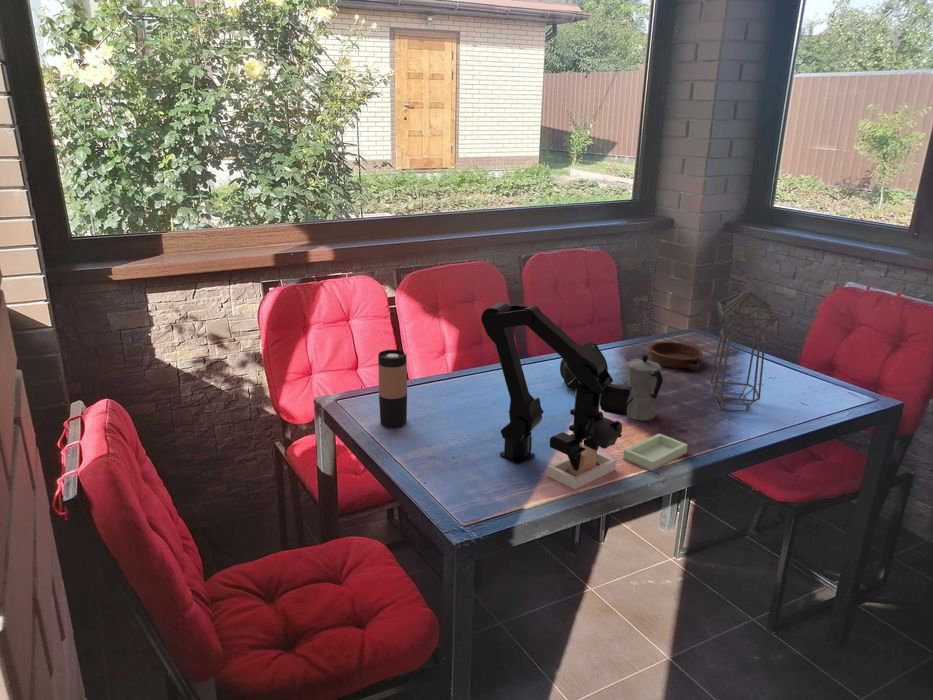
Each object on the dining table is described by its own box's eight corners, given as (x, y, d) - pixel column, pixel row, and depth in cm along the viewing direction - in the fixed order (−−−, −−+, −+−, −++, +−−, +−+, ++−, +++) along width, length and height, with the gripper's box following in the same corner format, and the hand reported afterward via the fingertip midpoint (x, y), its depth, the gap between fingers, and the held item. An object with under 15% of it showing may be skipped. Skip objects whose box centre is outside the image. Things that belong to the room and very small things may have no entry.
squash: (544, 369, 229) (576, 340, 221) (565, 358, 241) (596, 330, 233) (572, 405, 227) (606, 378, 218) (592, 392, 239) (625, 365, 230)
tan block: (583, 479, 175) (584, 456, 173) (568, 472, 178) (570, 449, 176) (595, 473, 178) (597, 450, 176) (580, 466, 181) (582, 444, 179)
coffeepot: (613, 407, 216) (618, 349, 210) (641, 403, 219) (647, 346, 213) (641, 429, 202) (647, 367, 196) (671, 424, 205) (678, 363, 199)
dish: (675, 377, 241) (676, 363, 239) (633, 356, 259) (634, 343, 258) (716, 370, 248) (718, 356, 246) (672, 350, 267) (673, 337, 265)
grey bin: (574, 489, 170) (575, 479, 170) (547, 475, 176) (548, 466, 176) (615, 469, 180) (616, 460, 179) (588, 457, 186) (589, 448, 185)
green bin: (651, 471, 179) (652, 462, 178) (623, 458, 185) (624, 449, 184) (686, 453, 189) (687, 444, 188) (658, 441, 195) (659, 433, 194)
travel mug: (374, 425, 201) (372, 356, 195) (387, 415, 208) (386, 347, 202) (399, 430, 199) (398, 360, 192) (412, 419, 206) (411, 351, 199)
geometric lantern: (702, 393, 227) (717, 283, 216) (756, 398, 224) (773, 286, 213) (707, 413, 212) (723, 296, 201) (765, 419, 210) (784, 300, 198)
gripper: (587, 429, 161) (583, 492, 166) (639, 407, 173) (633, 467, 178) (549, 413, 169) (546, 474, 174) (601, 393, 181) (597, 451, 186)
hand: (582, 466), depth 178 cm, fingers closed on tan block, 4 cm apart
